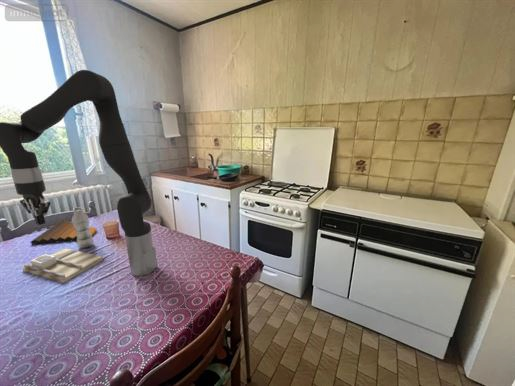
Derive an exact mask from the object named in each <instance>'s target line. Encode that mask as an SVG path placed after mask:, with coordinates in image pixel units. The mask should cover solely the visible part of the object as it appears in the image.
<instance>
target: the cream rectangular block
mask: <svg viewBox="0 0 515 386" xmlns="http://www.w3.org/2000/svg"><path fill="white" fill-rule="evenodd" d="M55 263H57V262H56V258H55V256H51V254H46V253H44V254H42V255H40V256H37V257H36V258H33V259H30V264H32V266H35V267H39V268H42V269H45V268H47V267H49V266H51V265H53V264H55Z"/></svg>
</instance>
